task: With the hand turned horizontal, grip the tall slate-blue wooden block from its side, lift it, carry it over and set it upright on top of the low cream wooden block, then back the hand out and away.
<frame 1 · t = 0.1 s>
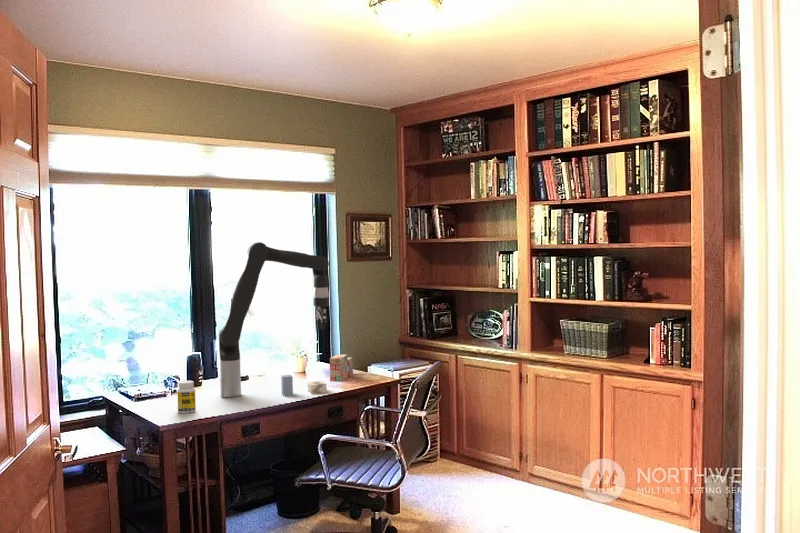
hand: (321, 328, 326), 29 cm above the table, tool pointing down, fingers open, 8 cm apart
cream base block: (317, 392, 315), on the table
stack of blocks: (341, 377, 350), on the table
slate block: (287, 394, 310), on the table
supplement bottle: (186, 411, 281), on the table
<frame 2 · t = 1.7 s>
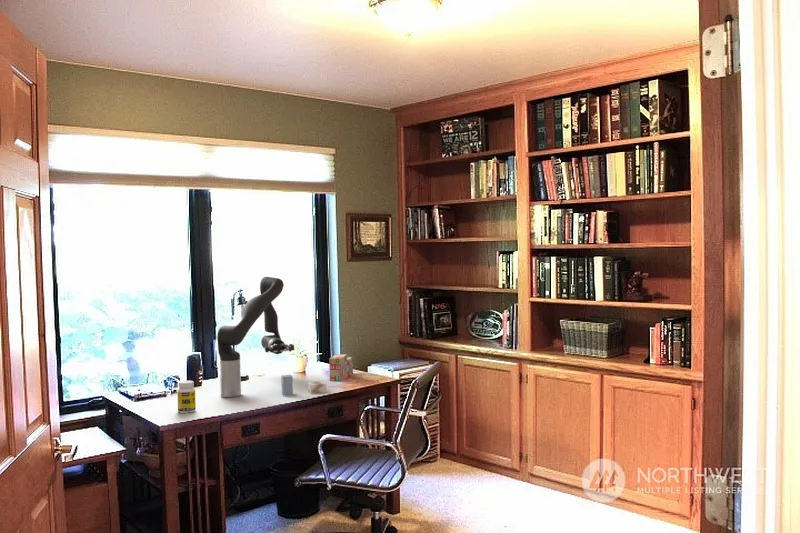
hand: (281, 350, 321), 20 cm above the table, tool horizontal, fingers open, 8 cm apart
nothing on the table moved.
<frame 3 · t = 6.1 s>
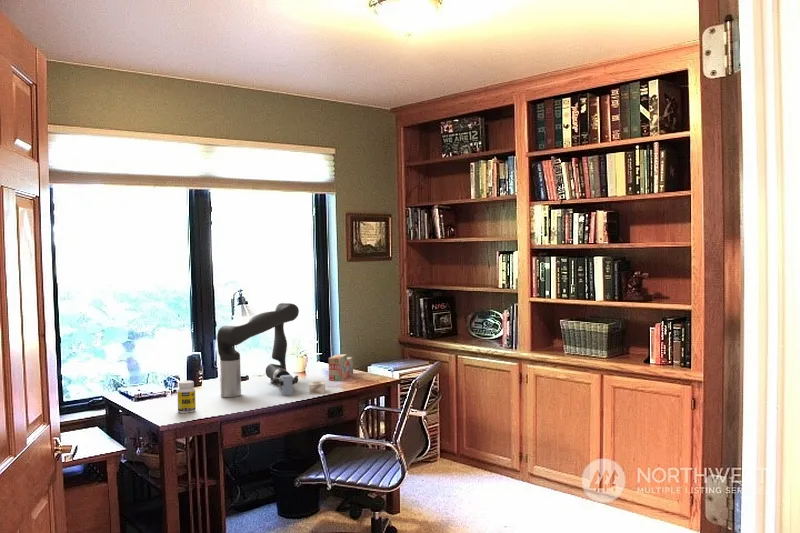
hand: (288, 383, 307), 6 cm above the table, tool horizontal, fingers closed on slate block, 4 cm apart
slate block: (287, 394, 310), on the table, touching gripper
when the fingers open (12 cm above the table, at t = 10.6 s): slate block drops 1 cm, point 4 cm above the table.
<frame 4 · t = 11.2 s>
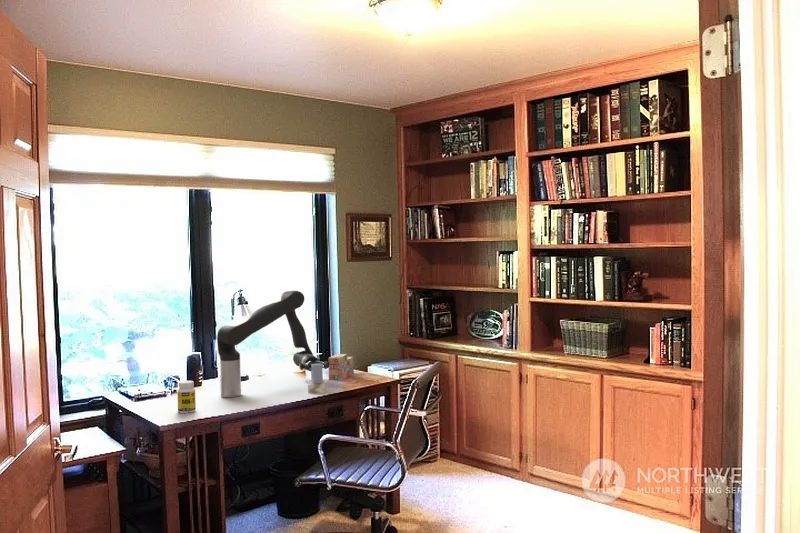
hand: (317, 367, 313), 12 cm above the table, tool horizontal, fingers open, 8 cm apart
slate block: (317, 382, 315), point 4 cm above the table
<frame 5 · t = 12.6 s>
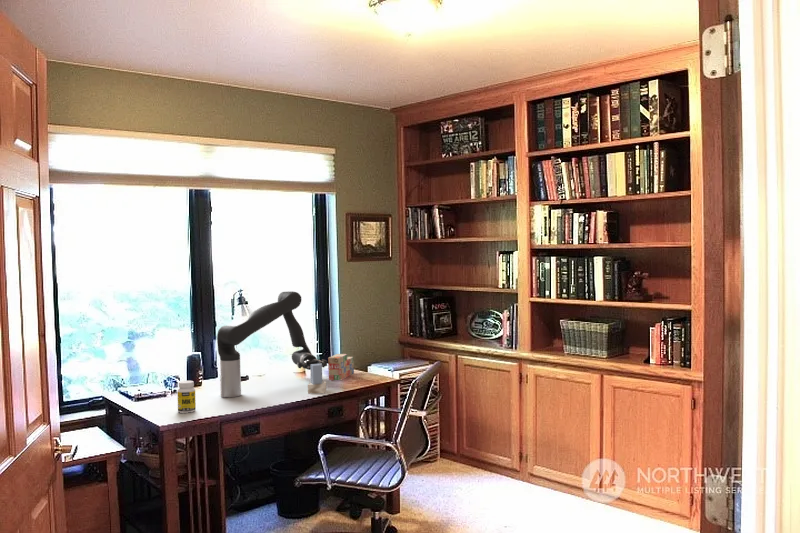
hand: (315, 366, 317), 12 cm above the table, tool horizontal, fingers open, 8 cm apart
cream base block: (317, 392, 315), on the table, touching slate block
slate block: (316, 383, 315), point 4 cm above the table, touching cream base block
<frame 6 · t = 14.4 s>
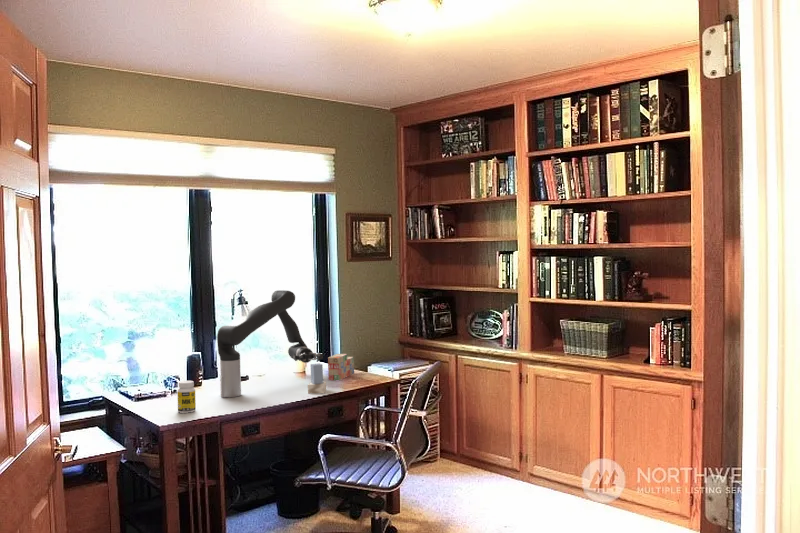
hand: (311, 358, 325), 14 cm above the table, tool horizontal, fingers open, 8 cm apart
cream base block: (317, 392, 315), on the table
slate block: (317, 383, 315), point 4 cm above the table
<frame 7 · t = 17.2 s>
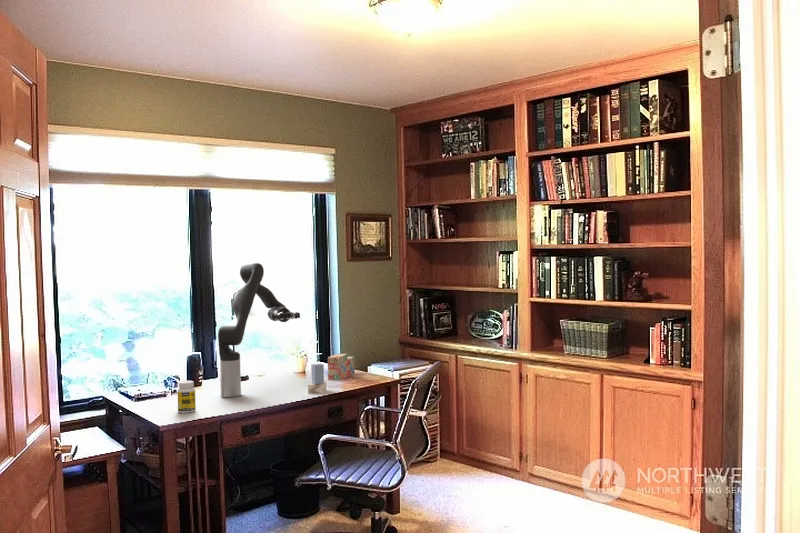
hand: (288, 317, 330), 35 cm above the table, tool horizontal, fingers open, 8 cm apart
cream base block: (317, 392, 315), on the table, touching slate block
slate block: (317, 383, 314), point 4 cm above the table, touching cream base block
at the end: slate block 0.7 cm off-centre on the cream base block, point 4.5 cm above the cream base block's base; slate block tilted 1°; the gripper is holding nothing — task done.
